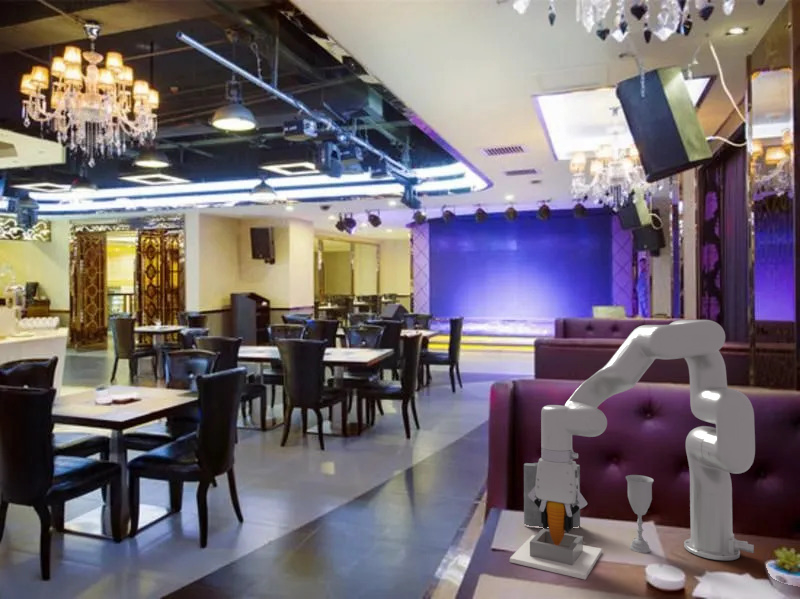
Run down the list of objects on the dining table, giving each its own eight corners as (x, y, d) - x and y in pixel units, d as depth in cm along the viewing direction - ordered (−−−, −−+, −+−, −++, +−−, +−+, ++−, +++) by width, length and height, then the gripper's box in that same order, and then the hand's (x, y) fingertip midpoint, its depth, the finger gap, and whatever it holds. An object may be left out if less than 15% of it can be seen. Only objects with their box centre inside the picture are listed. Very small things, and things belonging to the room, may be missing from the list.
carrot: (566, 551, 139) (566, 489, 139) (545, 548, 140) (545, 487, 141) (567, 544, 143) (567, 483, 144) (547, 541, 145) (547, 481, 146)
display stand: (601, 552, 145) (601, 534, 145) (585, 579, 129) (585, 559, 130) (532, 538, 154) (532, 521, 154) (509, 562, 139) (509, 543, 139)
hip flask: (578, 524, 165) (577, 455, 166) (582, 529, 161) (581, 458, 162) (523, 523, 166) (523, 454, 166) (525, 528, 162) (525, 457, 162)
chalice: (657, 555, 143) (656, 483, 144) (628, 553, 145) (628, 481, 145) (650, 544, 150) (650, 475, 151) (623, 542, 152) (623, 474, 153)
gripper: (594, 456, 142) (595, 531, 141) (528, 448, 150) (528, 518, 150) (588, 462, 135) (588, 540, 134) (519, 454, 144) (519, 527, 143)
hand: (557, 528), depth 142 cm, fingers closed on carrot, 4 cm apart
